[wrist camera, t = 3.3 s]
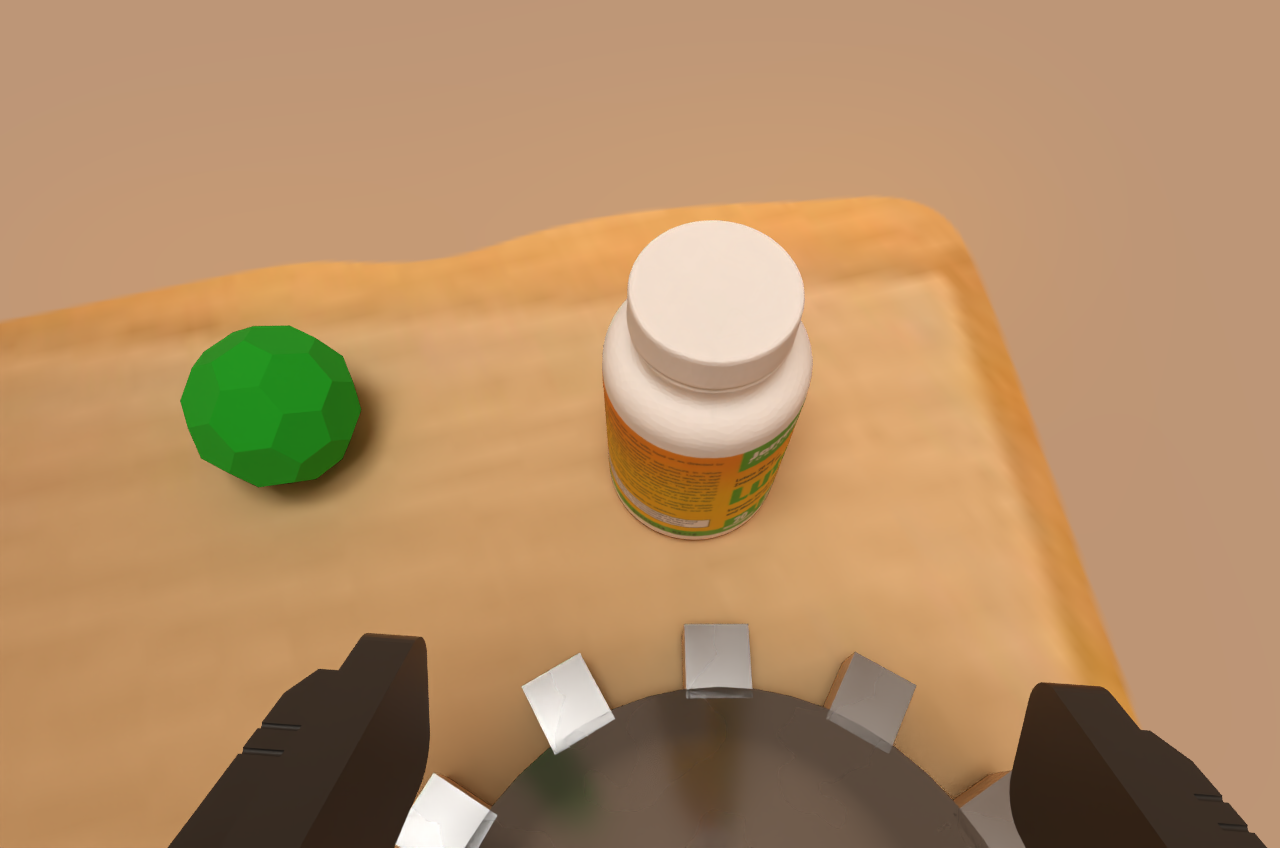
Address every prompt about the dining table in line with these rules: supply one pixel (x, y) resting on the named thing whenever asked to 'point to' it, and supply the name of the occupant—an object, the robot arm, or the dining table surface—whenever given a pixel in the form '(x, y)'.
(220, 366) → the polyhedron
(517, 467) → the dining table surface
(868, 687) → the sprocket plate
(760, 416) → the supplement bottle
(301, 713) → the robot arm
